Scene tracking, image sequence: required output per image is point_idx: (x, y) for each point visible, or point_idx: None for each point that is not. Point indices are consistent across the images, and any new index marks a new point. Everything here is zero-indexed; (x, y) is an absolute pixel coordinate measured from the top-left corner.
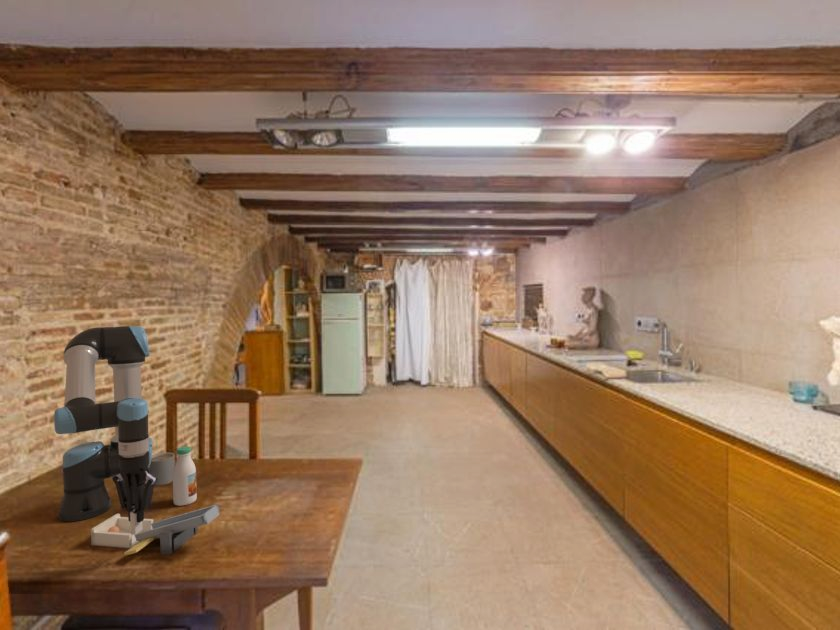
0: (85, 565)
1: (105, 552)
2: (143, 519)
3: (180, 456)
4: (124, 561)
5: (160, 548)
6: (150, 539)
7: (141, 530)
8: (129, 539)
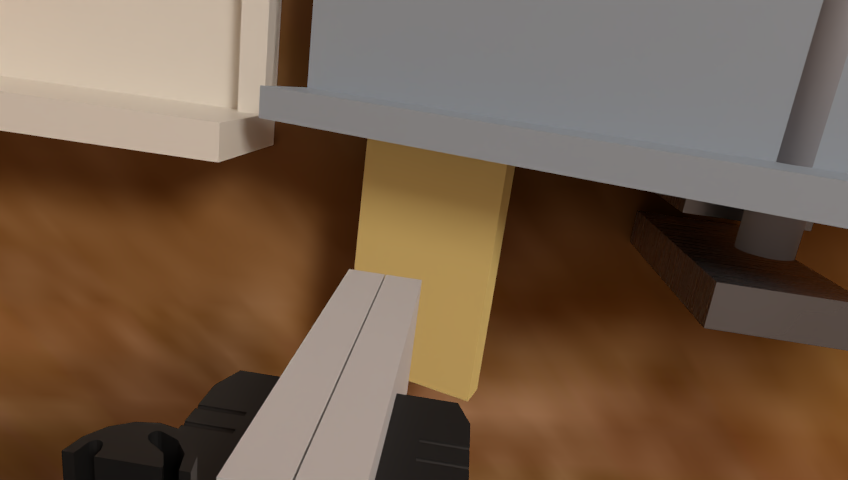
0: (110, 378)
1: (111, 206)
2: (462, 418)
3: None
4: None
5: (644, 257)
6: (501, 201)
7: (419, 298)
8: (239, 151)
